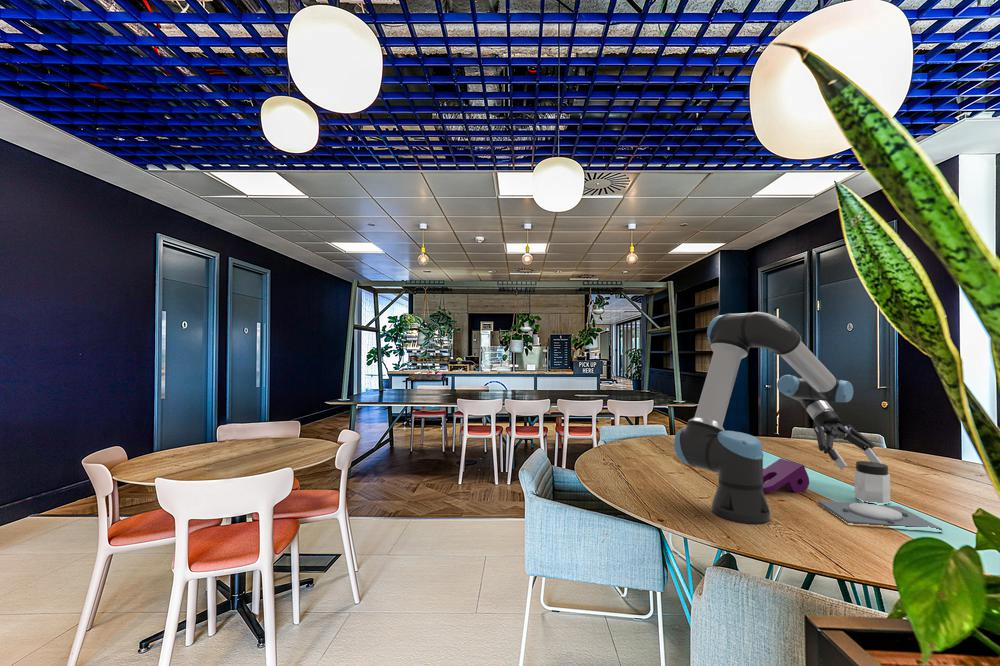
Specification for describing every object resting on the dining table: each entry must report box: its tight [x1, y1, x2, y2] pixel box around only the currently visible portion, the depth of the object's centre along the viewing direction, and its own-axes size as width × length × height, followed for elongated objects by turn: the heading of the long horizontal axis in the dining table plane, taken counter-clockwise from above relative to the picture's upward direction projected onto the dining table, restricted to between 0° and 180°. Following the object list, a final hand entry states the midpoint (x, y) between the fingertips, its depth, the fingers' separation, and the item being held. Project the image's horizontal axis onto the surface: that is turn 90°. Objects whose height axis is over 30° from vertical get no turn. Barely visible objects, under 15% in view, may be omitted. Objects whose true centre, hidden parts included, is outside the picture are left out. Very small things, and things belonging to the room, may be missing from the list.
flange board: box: [817, 500, 943, 531], centre depth 133 cm, size 22×18×2 cm
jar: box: [854, 460, 891, 503], centre depth 148 cm, size 9×8×12 cm
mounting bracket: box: [763, 458, 810, 494], centre depth 160 cm, size 9×8×18 cm
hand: (862, 467), depth 153 cm, fingers open, 13 cm apart
